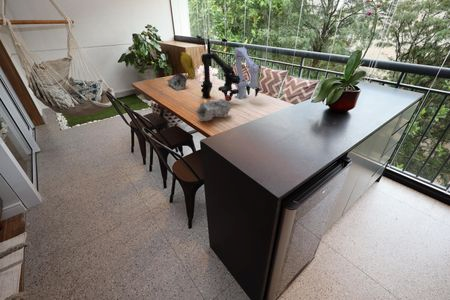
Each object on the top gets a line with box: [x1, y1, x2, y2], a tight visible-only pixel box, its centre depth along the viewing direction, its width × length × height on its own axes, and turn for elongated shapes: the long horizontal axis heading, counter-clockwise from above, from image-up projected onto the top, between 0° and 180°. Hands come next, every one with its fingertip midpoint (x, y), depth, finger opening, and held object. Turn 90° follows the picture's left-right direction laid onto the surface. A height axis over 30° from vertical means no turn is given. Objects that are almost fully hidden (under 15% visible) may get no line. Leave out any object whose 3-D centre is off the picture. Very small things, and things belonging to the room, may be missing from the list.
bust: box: [195, 98, 232, 123], centre depth 155 cm, size 17×17×28 cm
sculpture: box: [180, 51, 196, 79], centre depth 254 cm, size 20×27×30 cm
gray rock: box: [166, 72, 188, 91], centre depth 228 cm, size 19×8×30 cm
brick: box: [224, 94, 232, 103], centre depth 185 cm, size 5×4×4 cm
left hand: (228, 99), depth 186 cm, fingers closed on brick, 4 cm apart
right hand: (252, 95), depth 184 cm, fingers open, 7 cm apart
